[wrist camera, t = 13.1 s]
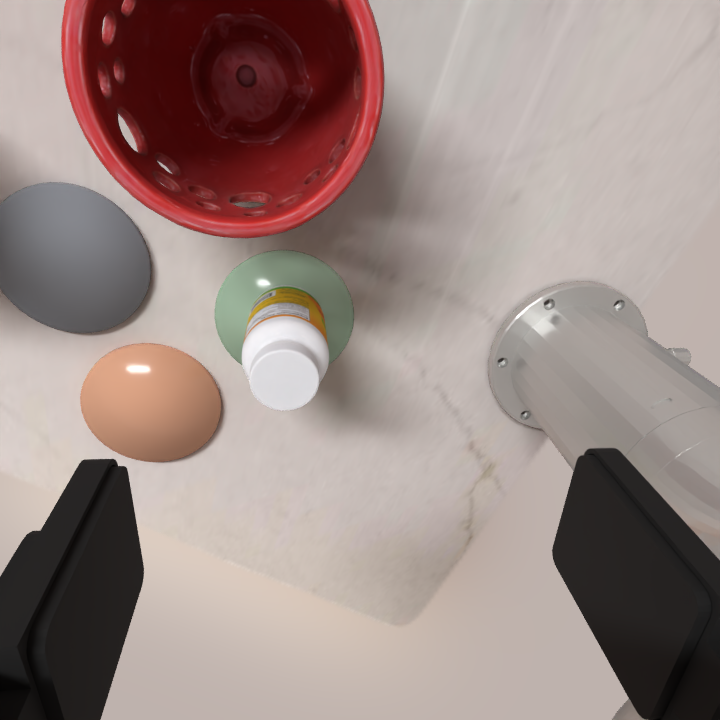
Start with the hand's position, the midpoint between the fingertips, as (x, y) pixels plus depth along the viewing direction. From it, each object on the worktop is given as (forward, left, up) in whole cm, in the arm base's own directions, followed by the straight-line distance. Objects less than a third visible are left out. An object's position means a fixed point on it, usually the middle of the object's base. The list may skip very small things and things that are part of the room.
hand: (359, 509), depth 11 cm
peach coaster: (+12, +14, -28) cm, 34 cm away
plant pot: (+4, -8, -29) cm, 30 cm away
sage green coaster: (+2, +7, -29) cm, 30 cm away
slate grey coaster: (+16, +3, -29) cm, 33 cm away
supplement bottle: (+2, +7, -28) cm, 29 cm away
